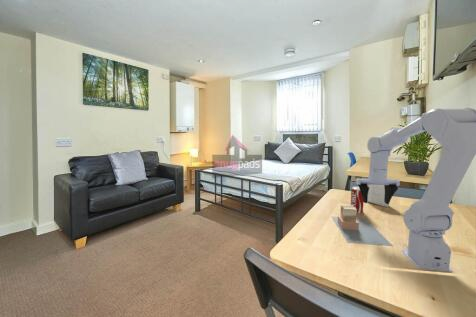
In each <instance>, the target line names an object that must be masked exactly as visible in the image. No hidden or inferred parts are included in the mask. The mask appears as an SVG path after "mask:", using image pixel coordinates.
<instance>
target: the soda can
mask: <svg viewBox="0 0 476 317" xmlns="http://www.w3.org/2000/svg"><path fill="white" fill-rule="evenodd" d="M364 204H365V203H364V202H363V197H362V193H361V191H360V188H359V186H352V188H351V190H350V205H353V206H354V207H355V208H356V209H357V214H363V213H364Z"/></svg>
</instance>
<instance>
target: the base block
mask: <svg viewBox="0 0 476 317" xmlns="http://www.w3.org/2000/svg"><path fill="white" fill-rule="evenodd" d="M337 217H338V224H339V225H340V227H341V229H347V230H359V222H358V221H357V220H356V222H351V221H343V219H342V218H341V217H340V215H338V216H337Z"/></svg>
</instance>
